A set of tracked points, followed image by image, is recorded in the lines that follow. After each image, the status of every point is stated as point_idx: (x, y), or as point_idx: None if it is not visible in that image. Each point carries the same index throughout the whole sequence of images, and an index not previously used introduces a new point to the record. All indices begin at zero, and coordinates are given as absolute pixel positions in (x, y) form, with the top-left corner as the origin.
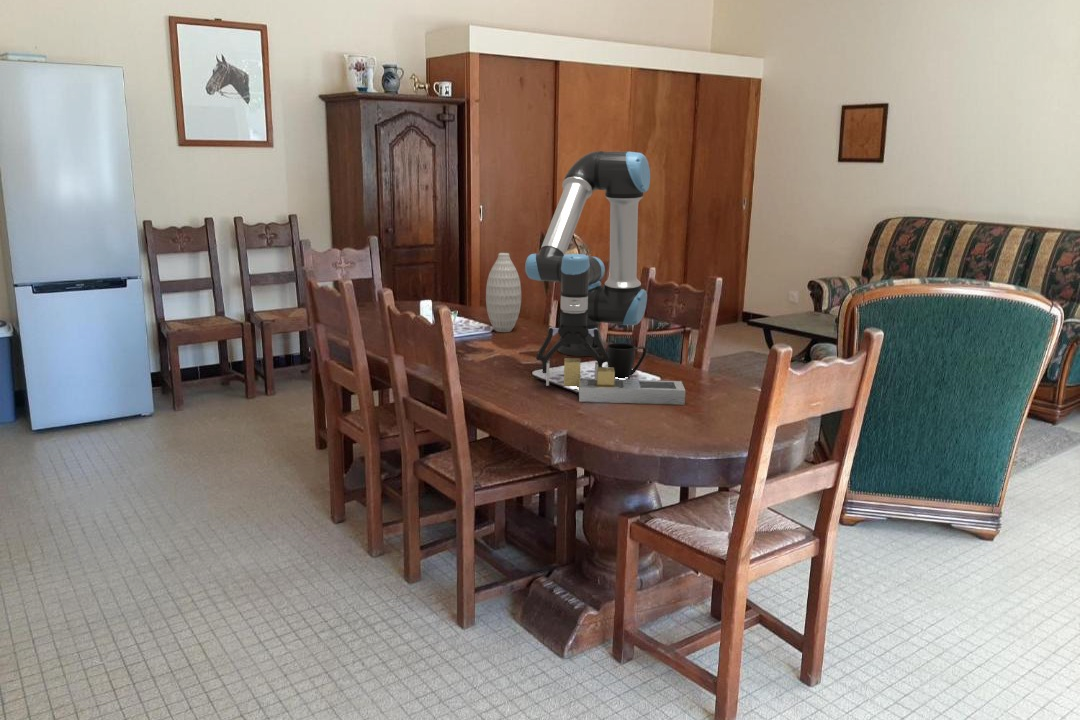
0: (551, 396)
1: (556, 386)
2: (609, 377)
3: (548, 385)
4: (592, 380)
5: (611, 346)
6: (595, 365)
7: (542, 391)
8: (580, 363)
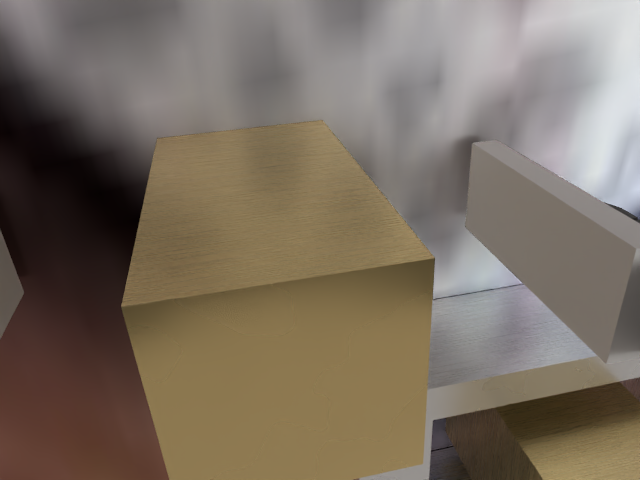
0: (127, 457)
1: (90, 196)
2: None
3: (20, 295)
4: (473, 406)
5: None
6: (596, 352)
7: (8, 373)
8: (416, 453)
